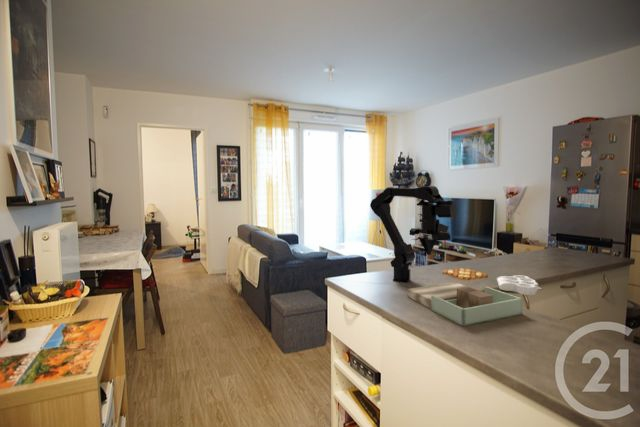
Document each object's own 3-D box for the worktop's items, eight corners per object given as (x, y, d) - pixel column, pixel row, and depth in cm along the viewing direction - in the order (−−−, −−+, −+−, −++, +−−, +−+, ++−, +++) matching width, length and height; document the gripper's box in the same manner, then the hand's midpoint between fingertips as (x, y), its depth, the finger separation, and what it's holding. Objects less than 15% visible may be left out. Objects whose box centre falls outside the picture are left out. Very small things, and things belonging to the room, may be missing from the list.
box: (431, 310, 109) (431, 295, 109) (485, 300, 118) (486, 286, 117) (463, 326, 96) (463, 309, 96) (522, 313, 105) (522, 298, 104)
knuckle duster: (496, 280, 142) (536, 284, 137) (500, 293, 126) (545, 297, 120) (496, 273, 142) (536, 276, 136) (500, 284, 126) (546, 288, 120)
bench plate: (407, 296, 123) (407, 288, 123) (454, 289, 131) (454, 281, 130) (433, 309, 110) (433, 300, 110) (483, 300, 118) (483, 292, 117)
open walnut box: (456, 288, 111) (480, 297, 102) (468, 286, 113) (492, 295, 103) (456, 305, 111) (480, 316, 102) (468, 303, 113) (492, 314, 104)
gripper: (461, 217, 128) (461, 257, 129) (430, 214, 145) (429, 249, 147) (438, 219, 124) (438, 260, 125) (408, 215, 141) (408, 251, 143)
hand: (428, 254), depth 135 cm, fingers closed
